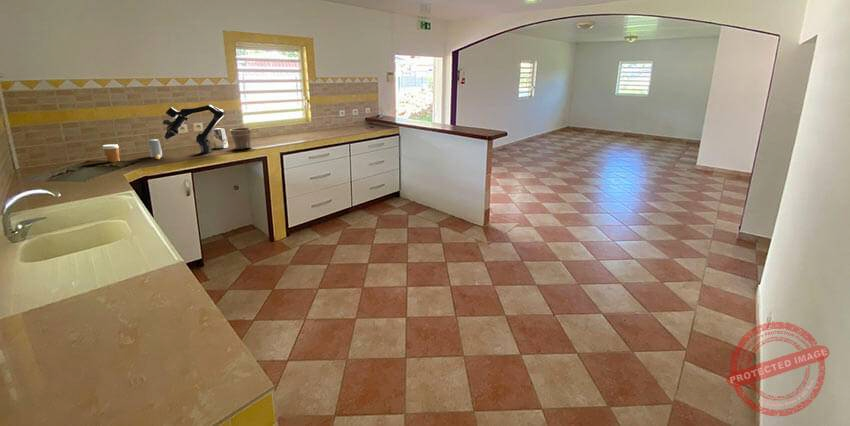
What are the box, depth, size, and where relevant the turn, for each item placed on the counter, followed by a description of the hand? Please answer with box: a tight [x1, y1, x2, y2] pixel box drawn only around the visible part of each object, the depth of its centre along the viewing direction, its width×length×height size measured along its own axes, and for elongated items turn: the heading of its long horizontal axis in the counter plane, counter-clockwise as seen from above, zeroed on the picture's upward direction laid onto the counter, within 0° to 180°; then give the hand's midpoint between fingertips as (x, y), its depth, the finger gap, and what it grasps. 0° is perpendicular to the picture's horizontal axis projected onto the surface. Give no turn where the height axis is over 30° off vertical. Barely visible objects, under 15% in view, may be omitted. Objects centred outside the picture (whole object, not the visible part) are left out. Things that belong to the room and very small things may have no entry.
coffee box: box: [211, 127, 229, 149], centre depth 343 cm, size 9×6×16 cm
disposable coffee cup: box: [102, 143, 121, 163], centre depth 290 cm, size 10×10×12 cm
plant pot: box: [229, 127, 252, 150], centre depth 340 cm, size 16×16×16 cm
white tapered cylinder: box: [147, 138, 163, 158], centre depth 308 cm, size 7×7×12 cm
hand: (165, 138), depth 310 cm, fingers open, 9 cm apart
